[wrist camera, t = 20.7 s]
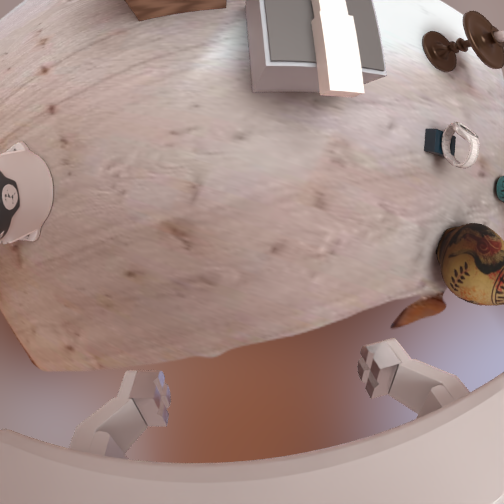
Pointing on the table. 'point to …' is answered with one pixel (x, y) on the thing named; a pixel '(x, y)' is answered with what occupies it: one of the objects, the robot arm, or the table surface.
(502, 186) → the beverage bottle
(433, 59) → the candlestick
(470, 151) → the watch
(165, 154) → the table surface
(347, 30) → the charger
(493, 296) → the ceramic jug
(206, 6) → the stand
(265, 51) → the shelf
